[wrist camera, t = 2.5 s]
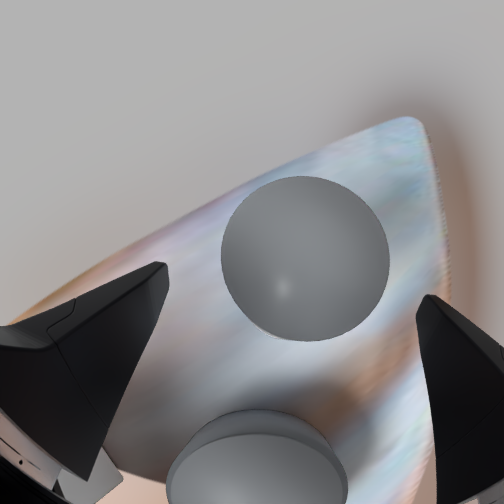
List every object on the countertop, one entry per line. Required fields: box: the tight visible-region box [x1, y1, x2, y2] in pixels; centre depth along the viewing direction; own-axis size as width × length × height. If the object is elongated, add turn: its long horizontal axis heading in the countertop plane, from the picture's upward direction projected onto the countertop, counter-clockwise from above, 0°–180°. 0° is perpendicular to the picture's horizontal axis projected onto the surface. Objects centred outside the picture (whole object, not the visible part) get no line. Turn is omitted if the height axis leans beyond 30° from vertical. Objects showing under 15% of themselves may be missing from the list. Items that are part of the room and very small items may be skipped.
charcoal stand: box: [166, 409, 348, 504], centre depth 12 cm, size 10×10×4 cm
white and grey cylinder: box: [221, 176, 390, 342], centre depth 13 cm, size 5×5×10 cm
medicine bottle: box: [57, 447, 123, 504], centre depth 9 cm, size 7×7×12 cm
